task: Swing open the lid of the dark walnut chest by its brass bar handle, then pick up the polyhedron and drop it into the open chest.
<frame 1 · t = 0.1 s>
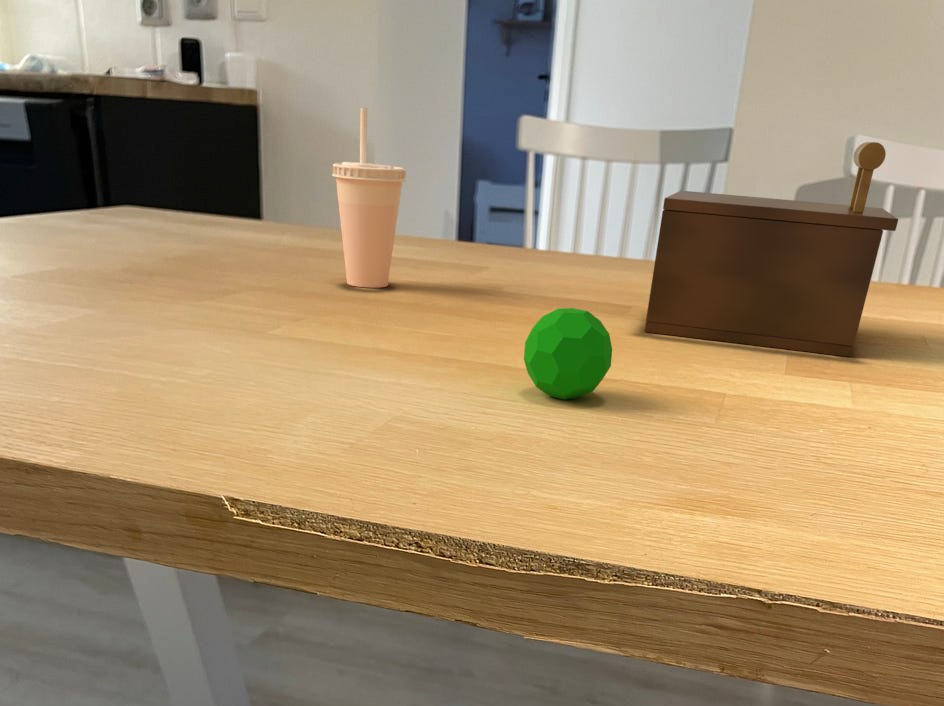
smoothie: (367, 286, 87), on the table
polyhedron: (562, 399, 56), on the table
lid: (784, 176, 73), point 12 cm above the table, hinge at 0.0°
chest: (747, 330, 78), on the table
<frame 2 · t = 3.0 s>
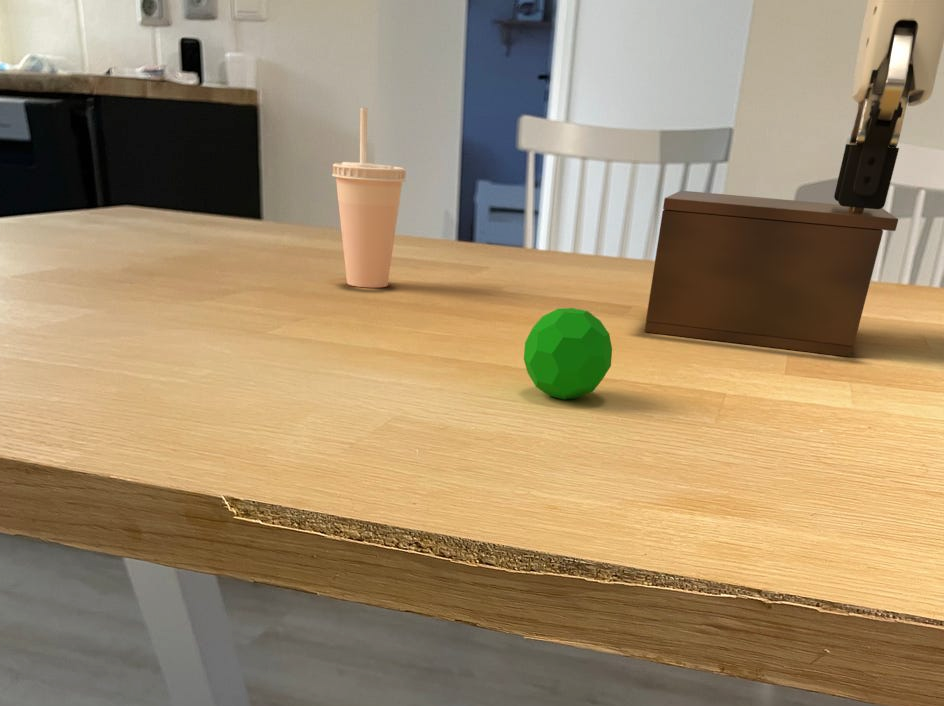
hand: (857, 202, 72), 10 cm above the table, tool pointing down, fingers closed on lid, 6 cm apart
lid: (784, 176, 73), point 12 cm above the table, hinge at 0.0°, touching gripper
everything else where it was.
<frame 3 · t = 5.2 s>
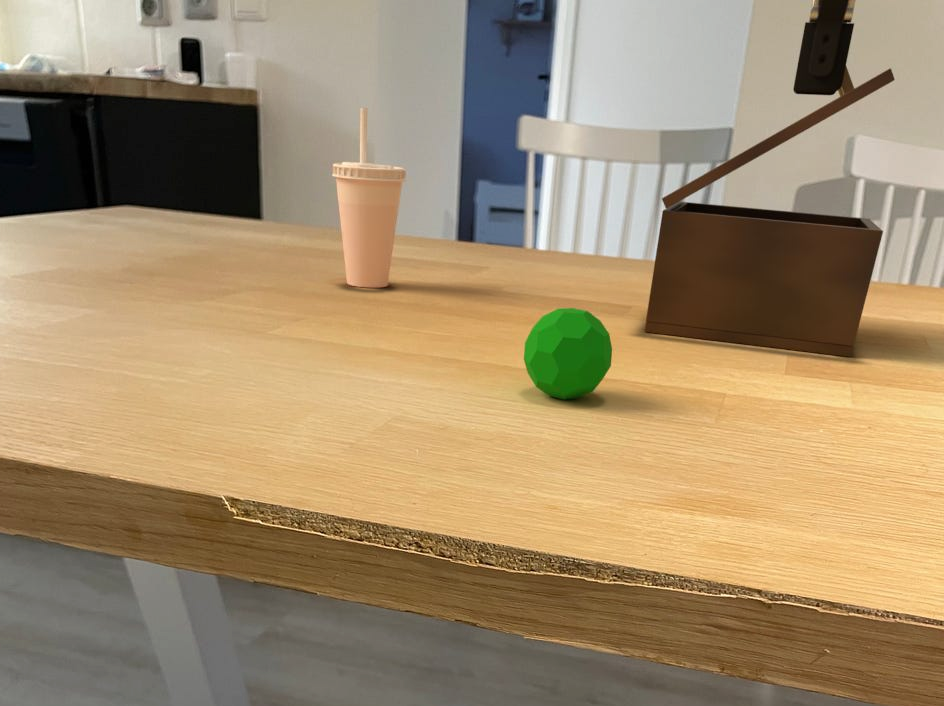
hand: (815, 89, 70), 17 cm above the table, tool pointing down, fingers closed on lid, 6 cm apart
lid: (761, 112, 71), point 16 cm above the table, hinge at 33.4°, touching gripper
everything else where it was.
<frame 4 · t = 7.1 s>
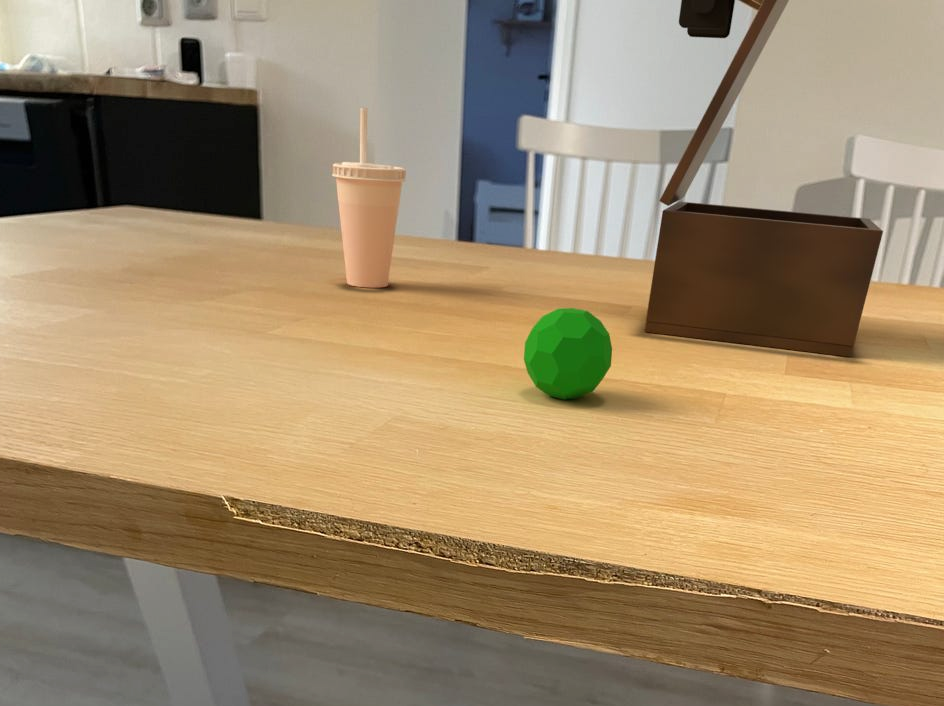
hand: (704, 30, 70), 21 cm above the table, tool pointing down, fingers closed on lid, 6 cm apart
lid: (702, 76, 71), point 18 cm above the table, hinge at 68.8°, touching gripper
everything else where it was.
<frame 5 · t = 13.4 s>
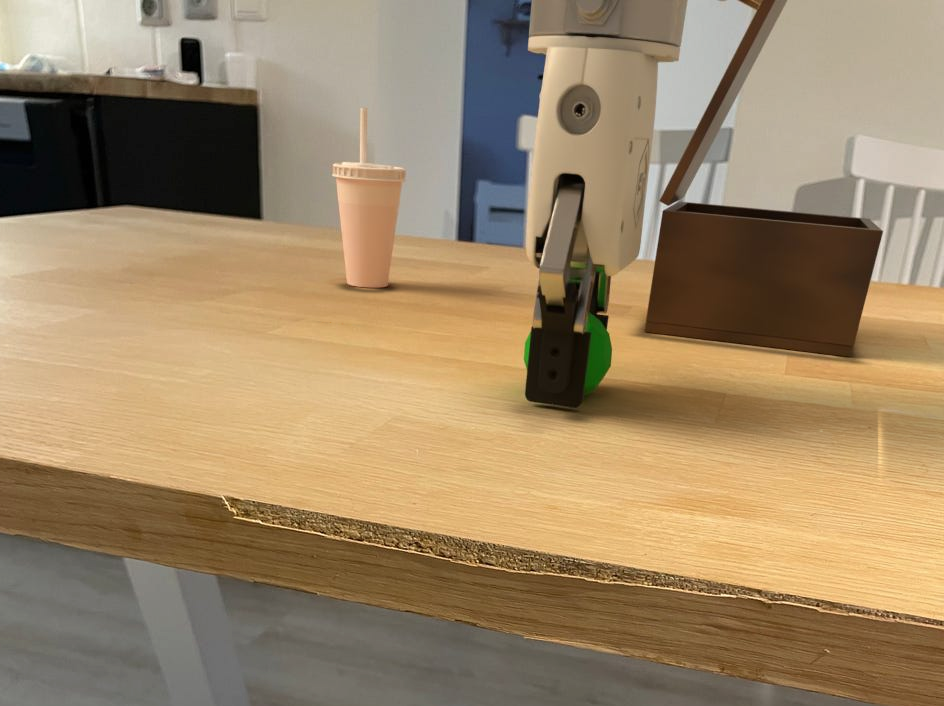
hand: (564, 388, 55), 0 cm above the table, tool pointing down, fingers closed on polyhedron, 5 cm apart
polyhedron: (562, 399, 56), on the table, touching gripper
lid: (701, 76, 71), point 18 cm above the table, hinge at 69.2°
everything else where it was.
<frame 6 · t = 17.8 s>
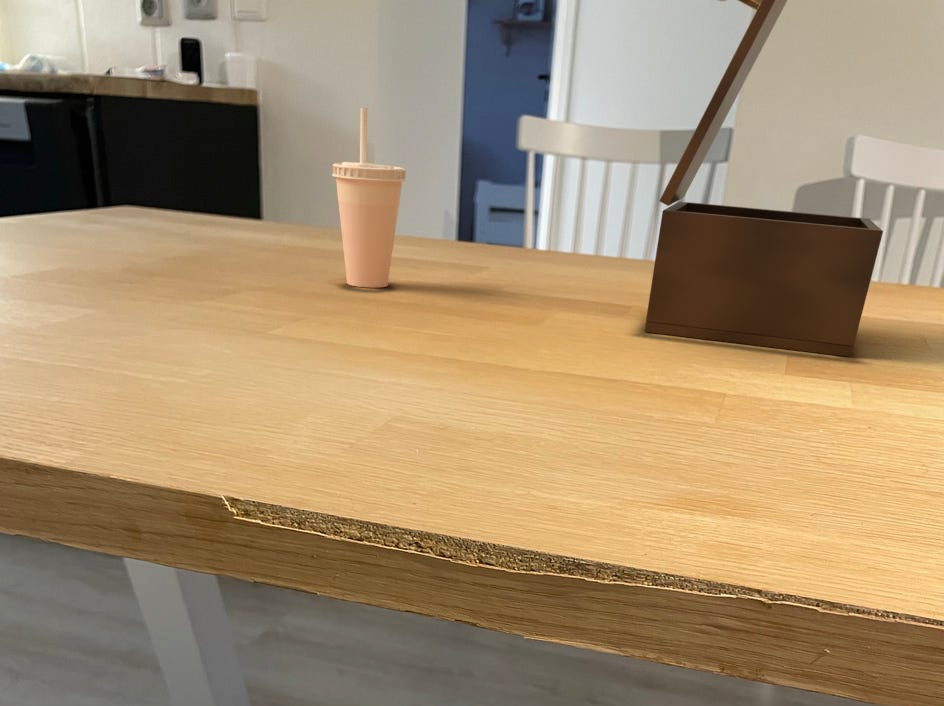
when the fingers open (8 cm above the table, at t = 22.7 s): polyhedron drops 5 cm, resting on chest.
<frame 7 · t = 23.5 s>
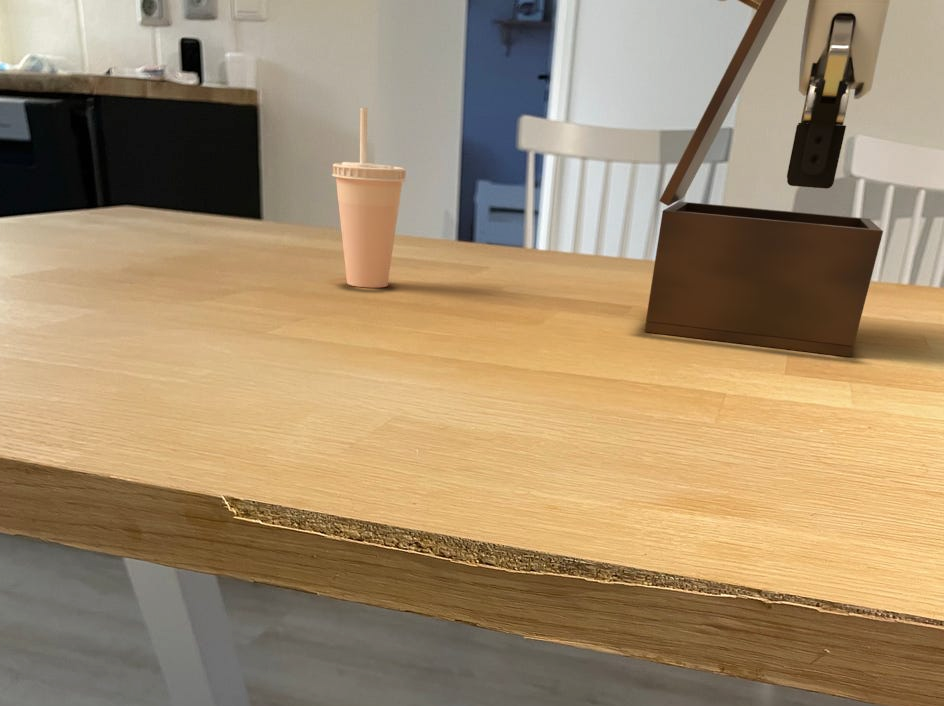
hand: (807, 184, 73), 11 cm above the table, tool pointing down, fingers open, 9 cm apart
polyhedron: (778, 302, 78), point 2 cm above the table, touching chest
everything else where it was.
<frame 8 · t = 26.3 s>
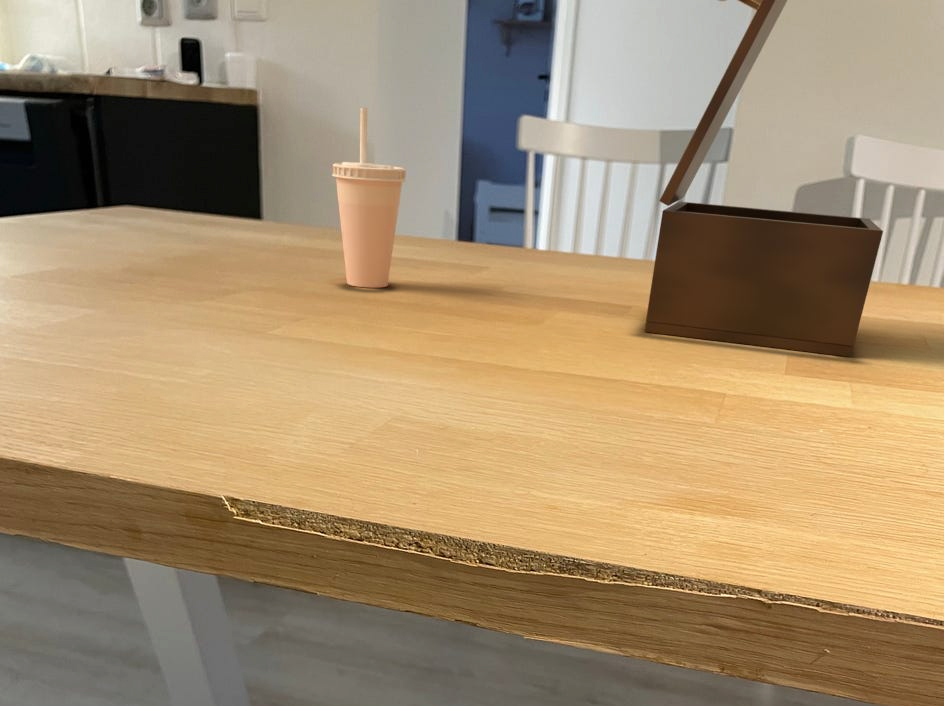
nothing on the table moved.
at the end: lid at +69° (first picture: +0°); polyhedron inside the target area in the chest (2.2 cm from its centre), point 2.3 cm above the chest's base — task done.
